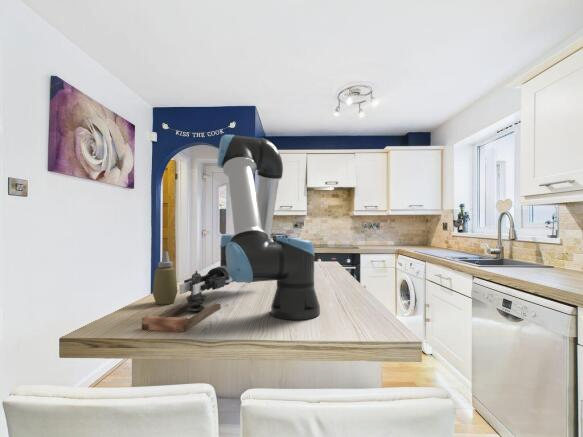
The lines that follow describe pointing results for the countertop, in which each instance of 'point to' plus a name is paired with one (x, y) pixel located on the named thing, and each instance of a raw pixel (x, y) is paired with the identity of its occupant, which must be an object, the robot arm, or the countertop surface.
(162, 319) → the track
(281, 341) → the countertop surface
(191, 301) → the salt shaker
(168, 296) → the squeeze bottle
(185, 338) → the countertop surface
